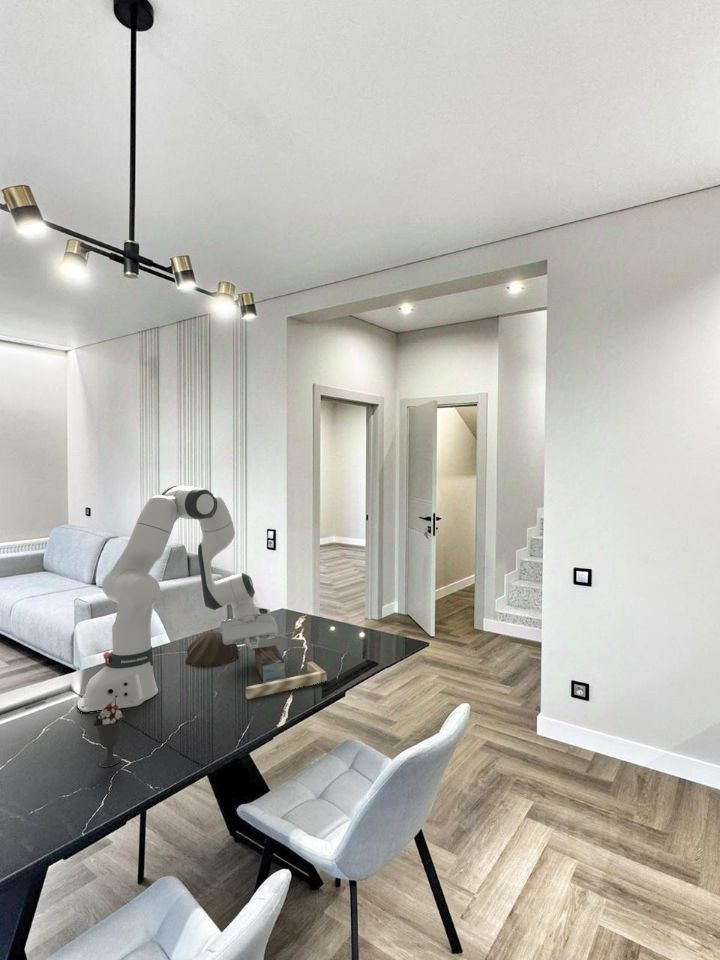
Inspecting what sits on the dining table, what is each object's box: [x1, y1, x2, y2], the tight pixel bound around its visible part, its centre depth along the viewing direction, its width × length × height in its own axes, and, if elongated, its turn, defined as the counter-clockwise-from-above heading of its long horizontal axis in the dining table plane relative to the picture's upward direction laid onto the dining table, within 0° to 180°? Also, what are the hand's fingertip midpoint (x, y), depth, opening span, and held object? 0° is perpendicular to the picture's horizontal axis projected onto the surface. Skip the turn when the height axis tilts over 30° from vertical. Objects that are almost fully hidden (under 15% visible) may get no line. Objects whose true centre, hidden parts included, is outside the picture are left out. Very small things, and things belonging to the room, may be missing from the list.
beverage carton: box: [254, 645, 287, 683], centre depth 180 cm, size 8×19×7 cm, turn 19°
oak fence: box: [245, 661, 328, 700], centre depth 168 cm, size 26×12×3 cm, turn 118°
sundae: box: [92, 695, 126, 766], centre depth 123 cm, size 7×7×15 cm
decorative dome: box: [185, 630, 240, 667], centre depth 196 cm, size 19×20×10 cm
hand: (254, 650), depth 188 cm, fingers closed
